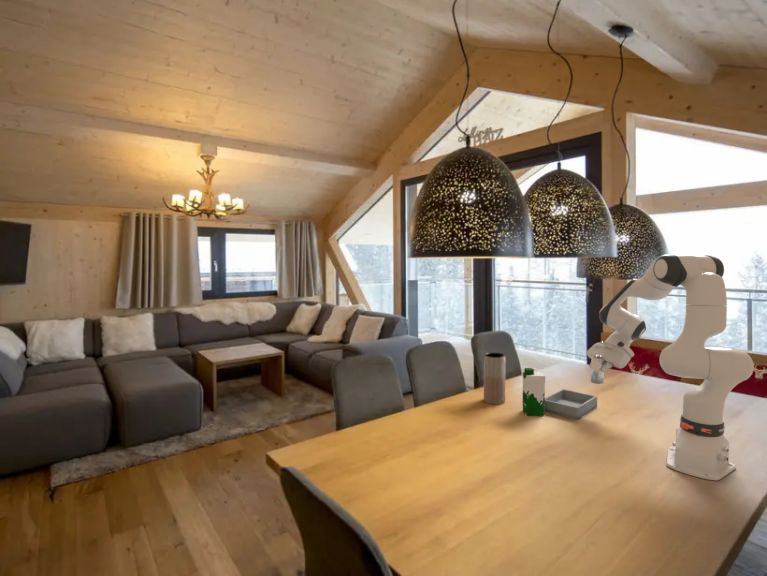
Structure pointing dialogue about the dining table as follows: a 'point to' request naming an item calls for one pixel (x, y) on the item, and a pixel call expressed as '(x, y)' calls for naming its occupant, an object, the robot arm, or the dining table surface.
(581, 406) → the bin
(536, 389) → the milk carton
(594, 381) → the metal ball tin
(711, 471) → the robot arm
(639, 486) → the dining table surface
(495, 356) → the planter
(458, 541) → the dining table surface
